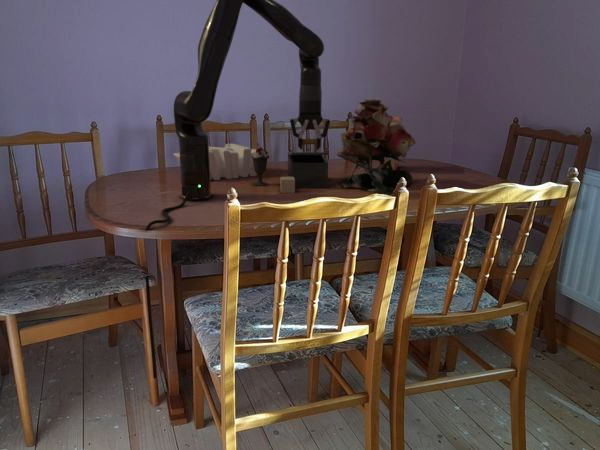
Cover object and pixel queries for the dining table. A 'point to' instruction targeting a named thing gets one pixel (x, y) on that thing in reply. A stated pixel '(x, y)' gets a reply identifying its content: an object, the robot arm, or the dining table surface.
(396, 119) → the cracker box
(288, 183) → the block
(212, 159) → the wavy white extrusion
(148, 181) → the dining table surface
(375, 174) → the rose bouquet
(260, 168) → the sundae
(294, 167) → the chest
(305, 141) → the lid
